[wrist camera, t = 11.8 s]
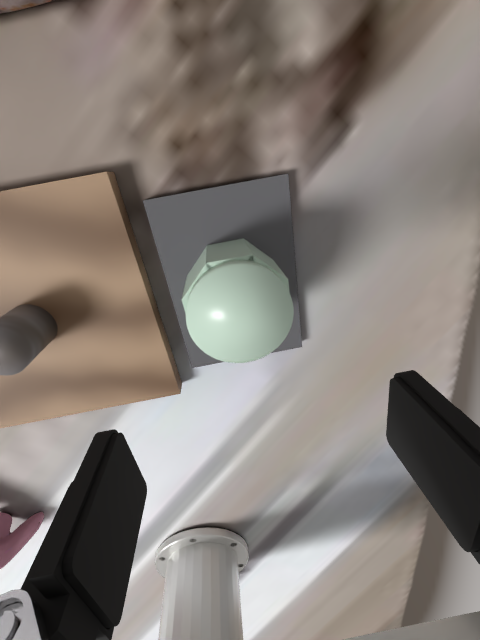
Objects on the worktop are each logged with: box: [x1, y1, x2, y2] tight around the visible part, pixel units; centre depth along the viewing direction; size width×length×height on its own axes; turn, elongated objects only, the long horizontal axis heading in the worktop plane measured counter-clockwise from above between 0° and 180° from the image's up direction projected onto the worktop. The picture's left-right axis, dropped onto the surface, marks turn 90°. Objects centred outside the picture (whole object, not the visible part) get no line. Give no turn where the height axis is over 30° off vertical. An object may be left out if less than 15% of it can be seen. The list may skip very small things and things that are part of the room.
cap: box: [182, 238, 294, 363], centre depth 20 cm, size 7×7×6 cm
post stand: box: [0, 172, 182, 428], centre depth 21 cm, size 18×18×6 cm
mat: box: [143, 174, 302, 368], centre depth 23 cm, size 14×10×1 cm
